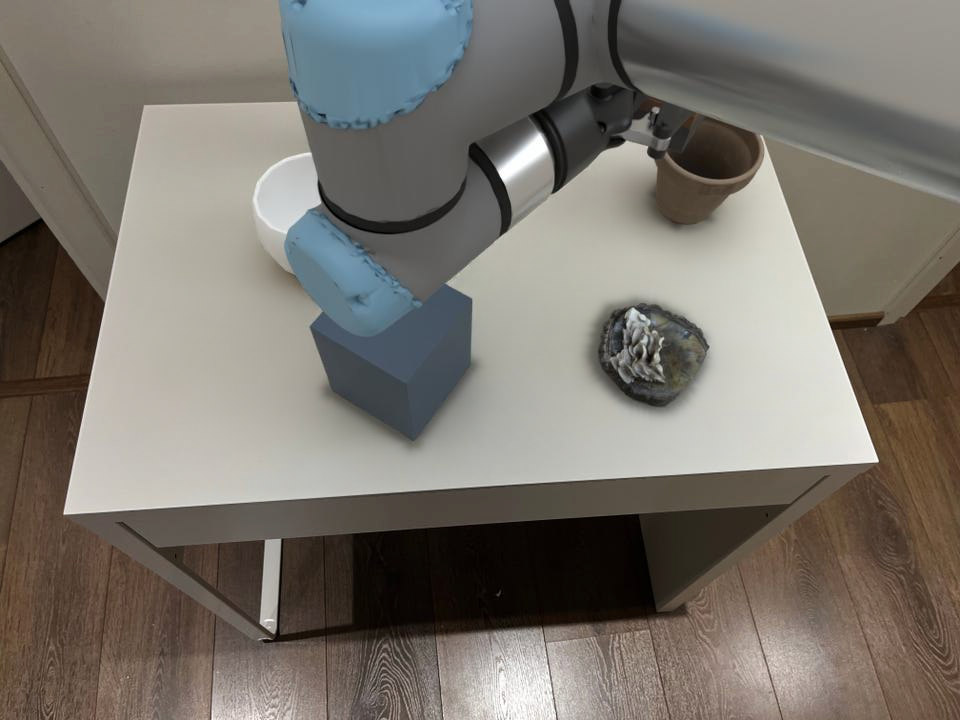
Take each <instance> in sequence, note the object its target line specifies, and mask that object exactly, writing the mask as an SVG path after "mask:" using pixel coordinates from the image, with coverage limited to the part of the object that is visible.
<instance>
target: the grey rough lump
mask: <svg viewBox="0 0 960 720" xmlns="http://www.w3.org/2000/svg"><path fill="white" fill-rule="evenodd" d="M600 340H601V342H600V344H599V347H598V350H597V352H598V359H599V362H600V365H601V368H602V370H603V371H604V372H605V373H606V374H607V375H608V376H609V378H610V379H611V380H612V381H613V382H614V383H615V384H616V385H617V386H618V388H619V389H620V390H621V391H622V392H623V393H624V394H625V395H626V396H627V397H629V398H630V399H632V400H634V401H636V402H641V403H643V404H647V405H649V406H654V407H660V408H661V407H666V406H667V405H669V404H670V403H672V402H673V401H674V400H676V399H677V398H678V397H679V395H680V394H681V393H682V392H683V391H684V390H685V388H686V387H687V386H688V385H689V383H690V382H691V381H692V380H693V379H694V377H695V376H696V374H697V373H698V372H699V370H700V368H701V366H702V365H703V363H704V360H705V358H706V356H707V352H708V351H709V349H710V345H709V344H708V343H707V339H706V338H705V337H704V333H703V330H702V329H701V328H700V327H698V326H697V325H696V323H694V322H691V321H689V320H688V319H687V318H686V317H684V316H683V315H678V314H676V313H673V312H672V311H670V310H665V309H663V308H662V307H661V306H660V304H656V303H652V304H647V303H645V302H640V303H638V304H637V305H630V306H626V307H623V308H619V309H618V308H617V309H615V310H613V311H612V312H611V314H610V319H609V320H606V321H605V322H604V324H603V331H602V332H601V334H600Z"/></svg>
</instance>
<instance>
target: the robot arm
mask: <svg viewBox="0 0 960 720" xmlns="http://www.w3.org/2000/svg"><path fill="white" fill-rule="evenodd" d="M277 2H278V9H279V16H280V31H281V34H282V40H283V45H284V46H283V47H284V51H285V57H286V61H287V74H288V77H289V86H290V90H291V92H292V95H293V97H294V99H295V100H296V103H297V106H298V110H299V113H300V117H301V118H300V119H301V121H302V124H303V128H304V132H305V135H306V140H307V143H308V146H309V149H310V153H311V154H312V157H313V161H314V165H315V168H316V172H317V176H318V181H317V187H318V193H319V196H320V200H321V204H320V205H318V206H317V207H314V208H311V209H308V210H307V212H306V213H305V215H304V216H302V217H301V218H300V219H299V220H298V221H297V222H296V223H295V224H294V225H292V226H291V227H290V228H289V230H288V233H287V236H286V240H285V242H284V249H285V253H286V257H287V260H288V262H289V264H290V266H291V268H292V270H293V272H294V274H295V275H294V274H293V275H294V276H295V278H297V281H298V282H299V284H300V285H301V286H302V288H303V289H304V290H305V292H306V293H307V294H308V295H309V297H310V298H311V299H312V301H313V302H314V303H315V304H316V306H318V307H319V309H320V310H321V311H322V312H323V311H324V312H325V313H326V314H327V315H328V316H329V317H330V318H331V319H332V320H333V321H334V322H335V323H337V324H338V325H339V326H340V327H342V328H343V329H345V330H347V331H348V332H350V333H352V334H355V335H358V336H363V337H370V336H374V335H377V334H379V333H381V332H382V331H384V330H385V329H386V328H388V327H389V326H390V325H392V324H393V323H394V322H396V321H397V320H398V319H400V318H401V317H403V316H404V315H405V314H407V313H408V312H409V311H411V310H412V309H418V308H420V307H421V306H422V305H423V304H422V303H423V302H424V301H425V300H426V299H428V298H429V297H430V296H431V295H432V294H434V293H435V292H436V291H437V290H438V289H440V288H441V287H442V286H443V285H444V284H447V283H448V282H449V281H450V280H451V279H453V278H454V277H455V276H456V275H458V274H459V273H460V272H461V271H462V270H464V269H465V268H466V267H467V266H468V265H470V264H471V263H472V262H473V261H474V260H475V259H477V258H478V257H479V256H480V255H481V254H483V252H485V251H486V250H487V249H489V247H491V246H492V245H493V244H494V243H495V242H496V241H497V240H498V239H500V238H501V237H502V236H504V235H505V234H506V233H508V232H509V231H511V229H513V228H514V227H516V226H517V224H520V222H521V221H523V220H524V219H525V218H527V216H529V215H530V214H531V213H533V211H535V210H536V209H537V208H538V207H540V206H541V205H542V204H544V203H545V202H546V201H547V200H548V199H549V197H551V196H552V195H554V194H556V193H558V192H559V191H560V190H561V189H563V188H564V187H565V186H566V185H567V184H568V183H570V182H571V181H573V180H574V179H575V178H576V177H577V176H579V175H580V174H581V173H582V172H584V170H586V169H587V168H588V167H589V166H590V165H591V164H592V163H593V162H594V161H595V160H596V159H597V158H598V157H599V156H600V154H602V153H603V152H605V151H607V150H610V149H616V148H619V147H622V145H624V144H625V143H626V142H630V143H634V144H638V145H642V146H646V147H647V149H646V154H647V156H648V157H649V158H651V159H653V160H654V159H657V160H658V159H662V158H664V156H665V155H666V152H667V149H668V146H669V143H670V140H671V137H672V135H673V134H674V133H675V132H676V131H677V130H678V129H679V128H680V127H681V126H682V125H683V124H684V123H685V122H686V121H687V120H688V119H689V117H690V116H691V115H692V114H693V113H694V112H696V113H699V114H702V115H705V116H708V117H711V118H714V119H716V120H719V121H722V122H725V123H728V124H731V125H733V126H736V127H739V128H742V129H745V130H748V131H751V132H753V133H756V134H759V135H760V136H762V137H765V138H767V139H770V140H774V141H777V142H779V143H782V144H785V145H788V146H791V147H793V148H796V149H800V150H802V151H805V152H808V153H811V154H812V155H813V154H814V155H817V156H818V157H822V158H825V159H827V160H831V161H834V162H836V163H839V164H842V165H845V166H848V167H850V168H852V169H856V170H859V171H862V172H864V173H868V174H870V175H873V176H876V177H879V178H882V179H885V180H888V181H890V182H893V183H896V184H899V185H902V186H904V187H907V188H910V189H913V190H916V191H919V192H921V193H925V194H928V195H931V196H933V197H935V198H938V199H942V200H945V201H947V202H951V203H953V204H956V205H959V206H960V0H277ZM651 97H654V98H657V99H659V100H662V101H663V103H662V105H661V107H660V108H658V107H653V108H652V109H651V112H650V113H647V114H646V115H645V116H644V117H643V118H642V119H639V120H634V119H632V118H633V113H634V112H635V111H636V110H637V109H638V108H639V106H640V105H641V104H642V103H643V102H644V101H646V100H648V99H650V98H651Z"/></svg>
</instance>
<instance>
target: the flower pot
mask: <svg viewBox="0 0 960 720" xmlns="http://www.w3.org/2000/svg"><path fill="white" fill-rule="evenodd" d="M761 136H762V135H759V134H756V133H753V132H751V131H748V130H745V129H742V128H739V127H736V126H733V125H731V124H728V123H725V122H722V121H719V120H716V119H714V118H711V117H708V116H706V117H705V118H704V120H703V121H702V123H701V124H700V126H699V127H698V129H697V130H696V132H695V133H694V135H693V136H692V138H691V139H690V141H689V142H688V144H687V145H686V147H685V148H684V150H683V151H682V153H679V152H676V151H674V150H672V149H669V148H668V149H667V152H666V155H665V156H664V158H662V159H658V160H657V159H653V162H654V164H655V165H656V186H655V195H656V204H657V207H658V209H659V211H660V212H661V214H663V216H665V218H667V219H668V220H671V221H673V222H674V223H677V224H683V225H694V224H699V223H700V222H702V221H704V220H706V219H707V218H708V217H709V216H710V215H712V214H713V213H714V212H715V211H716V210H717V209H718V208H719V207H720V206H721V205H722V204H723V203H724V202H725V201H726V200H727V199H728V197H729V196H730V195H733V194H736V193H738V192H740V191H742V190H743V189H744V188H746V187H747V186H748V185H749V184H750V183H751V182H752V180H753V179H754V177H755V176H756V174H757V173H758V171H759V170H760V168H761V167H762V165H763V163H764V158H765V144H764V140H763V138H762V137H761Z"/></svg>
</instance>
